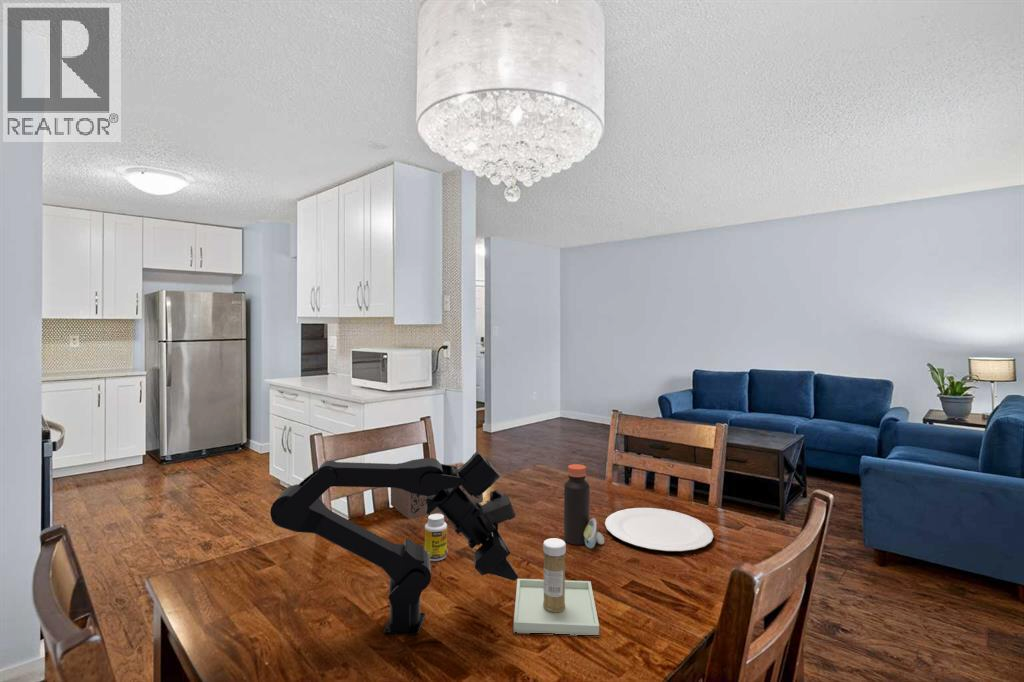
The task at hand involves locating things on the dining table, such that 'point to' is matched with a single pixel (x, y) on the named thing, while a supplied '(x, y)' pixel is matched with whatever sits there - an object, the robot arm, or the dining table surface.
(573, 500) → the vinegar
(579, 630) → the tray
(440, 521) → the supplement bottle
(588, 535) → the pacifier
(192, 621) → the dining table surface
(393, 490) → the tissue box cover
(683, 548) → the plate
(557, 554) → the spice jar
